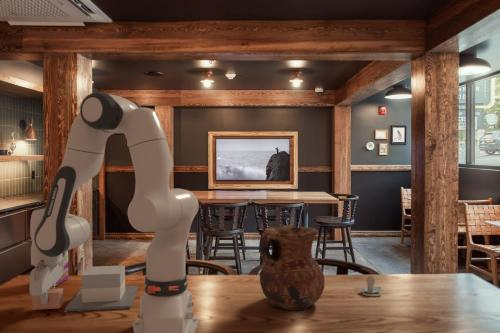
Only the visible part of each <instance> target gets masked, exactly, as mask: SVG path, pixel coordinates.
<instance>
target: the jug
mask: <svg viewBox="0 0 500 333" xmlns="http://www.w3.org/2000/svg"><path fill="white" fill-rule="evenodd" d="M318 233H319V230H318V229H316V228H315V227H314V228H313V227H305V226H302V225H300V226H299V227H298V226H294V225H292V224H291V225H290V224H288V225H287V224H286V225H282V226H279V227H272V226H269V227H266V228H265V229H263V232H262V234H261V236H260V238H259V239H260V240H259V244H258V245H259V253H260V256H261V257H260V258H262V262H263V266H262V268H261V270H260V273H259V283H260V288H261V290H262V292H263V294H264V297H265V298H266V299H267V300H268V301H269V303H270V304H271V305H272V306H273V307H275V308H278V309H281V310H286V311H295V312H296V311H303V310H307V309H309V308H311V306H313V305H314V304H315V303H316V302H318V301H319V299H321V297H322V295H323V293H324V288H325V282H326V281H325V278H326V277H325V275H324V272H323V269H322V267H321V266H320V265H319V263H318V262H317V261H316V260H315V258H314V257H313V255H312V248H313V243H314V240H315V237H316V236H317V235H318ZM270 247H271V248H270ZM270 249H271V252H270Z"/></svg>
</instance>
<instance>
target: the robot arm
mask: <svg viewBox="0 0 500 333" xmlns="http://www.w3.org/2000/svg"><path fill="white" fill-rule="evenodd" d="M111 135H115V136H116V137H117V136H123V135H124V136H125V139H126V141H127V145H128V149H129V154H130V158H131V161H132V165H133V171H134V177H135V187H134V188H135V189H134V194H133V197H132V200H131V202H130V203H129V205H128V208H127V217H128V218H127V219H128V221H129V224H130V225H131V226H132V227H133V229H135V230H136V231H138V232H141V233H143V232H144V233H154V235H153V238H152V240H151V242H150V244H149V245H148V247H147V249H146V251H145V255H146V257H145V259H146V260H145V261H146V263H145V264H146V266H145V268H146V269H145V270H146V273H145V274H146V276H145V277H144V285H143V286H144V293H143V294H142V295H140V297H139V298H140V304H139V305H140V307H139V308H140V311H139V312H140V313H138V316H137V318H138V319H136V320H135V321H133V323H132V329H133V330H132V331H133V333H196V331H197V329H198V326H199V324H200V318H199V317H197V316H194V311H193V310H194V309H193V307H194V302H193V293H191V291H189V290H188V274H186V257H187V256H186V251H187V244H188V238H189V236H190V230H191V226H192V224H193V221H194V219H195V217H196V215H197V213H198V211H199V207H200V206H199V205H200V204H199V199H198V197H197V195H196V194H194V193H193V191H191V190H188V189H183V188H177V187H176V188H170V177H171V176H170V175H171V172H172V171H173V169H174V160H173V157H172V154H171V150H170V147H169V143H168V139H167V136H166V133H165V130H164V127H163V125H162V123H161V120H160V119H159V116H158V114H157V113H156V111H155V110H154V109H152V108H149V107H142V106H141V105H140V104H139V103H137V101H133V100H130V99H127V98H124V97H122V96H119V95H116V94H112V93H111V94H110V93H106V92H92V93H89V94H88V95H86V96H85V97H84V98H83V99H82V101H81V103H80V107H79V115H77V116H76V117H75V118H74V119H73V122H72V124H71V128H70V130H69V134H68V136H67V137H68V138H67V141H66V146H65V151H64V155H63V159H62V162H61V164H60V167H59V168H58V170H57V172H56V174H55V177H54V179H53V180H52V185H51V188H50V191H49V195H48V199H47V201H46V206H43V207H42V206H41V207H37V208H35V209H34V210H33V211H32V213H31V217H30V226H29V227H30V228H29V231H30V239H31V247H30V264H31V266H34V268H33V269H32V270H31V271H30V275H29V296H31V297H32V296H40V298H41V304H47V303H48V302H49V297H48V296H47V293H48V290H49V289H56V287H55V286H56V282H57V281H58V280H59V279H60V278H61V277H62V275H63V269H64V258H63V257H64V256H65V251H67V250H68V251H69V250H72V249H74V248H77V247H79V246H81V245H83V244H85V243H87V242H88V240H90V237H91V234H92V227H91V224H90V222H89V221H88V219H86V218H85V217H83V216H81V215H75V214H71V213H70V209H71V206H72V202H73V198H74V195H75V194H76V192H77V191H78V190H79V188H80V187H82V185H84V184H86V183H87V182H88V181H91V179H93V178H95V176H97V175H98V174H99V172H100V170H101V168H102V165H103V162H104V159H105V158H104V156H105V150H106V144H107V141H108V138H109V137H110V136H111Z"/></svg>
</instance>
